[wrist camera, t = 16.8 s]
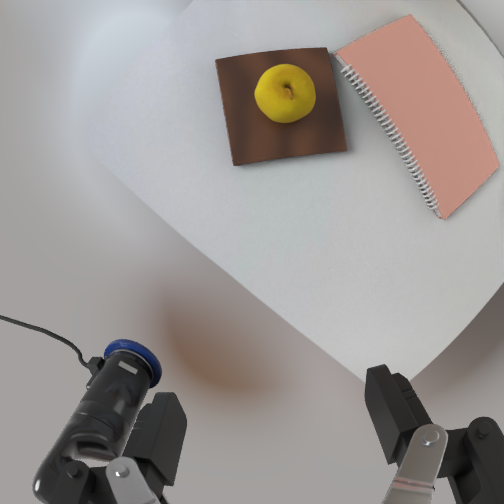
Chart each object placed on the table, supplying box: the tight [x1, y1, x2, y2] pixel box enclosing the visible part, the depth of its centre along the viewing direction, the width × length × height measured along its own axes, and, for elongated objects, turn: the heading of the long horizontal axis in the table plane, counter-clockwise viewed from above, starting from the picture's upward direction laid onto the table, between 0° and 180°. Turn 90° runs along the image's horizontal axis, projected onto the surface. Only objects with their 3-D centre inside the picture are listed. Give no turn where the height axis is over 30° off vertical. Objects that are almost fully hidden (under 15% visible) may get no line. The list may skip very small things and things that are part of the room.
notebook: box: [333, 14, 500, 220], centre depth 30 cm, size 27×17×2 cm, turn 39°
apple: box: [255, 64, 316, 123], centre depth 27 cm, size 6×6×8 cm
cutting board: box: [215, 48, 347, 166], centre depth 31 cm, size 14×14×2 cm
